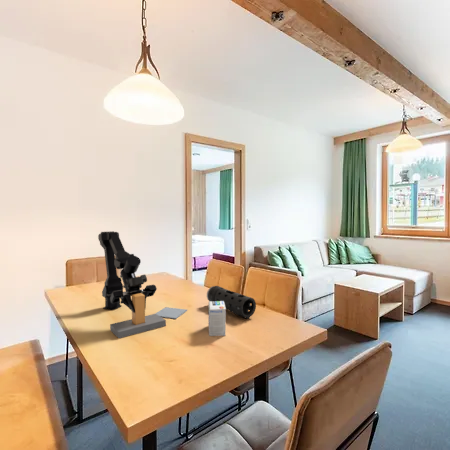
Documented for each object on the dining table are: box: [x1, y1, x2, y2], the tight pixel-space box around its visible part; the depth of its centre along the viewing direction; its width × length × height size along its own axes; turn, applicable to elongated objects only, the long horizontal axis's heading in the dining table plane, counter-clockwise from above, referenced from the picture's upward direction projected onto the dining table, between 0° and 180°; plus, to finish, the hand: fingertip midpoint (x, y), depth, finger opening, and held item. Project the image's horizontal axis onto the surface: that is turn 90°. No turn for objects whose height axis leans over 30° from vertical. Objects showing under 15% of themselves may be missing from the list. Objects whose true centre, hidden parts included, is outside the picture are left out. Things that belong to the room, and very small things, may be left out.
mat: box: [154, 306, 188, 320], centre depth 138 cm, size 12×12×1 cm
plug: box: [131, 293, 146, 325], centre depth 120 cm, size 4×4×14 cm
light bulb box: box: [208, 300, 227, 337], centre depth 118 cm, size 11×7×11 cm, turn 5°
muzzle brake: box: [206, 285, 257, 320], centre depth 141 cm, size 10×28×10 cm, turn 39°
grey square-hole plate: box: [109, 313, 167, 339], centre depth 120 cm, size 10×20×2 cm, turn 129°
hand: (139, 311), depth 119 cm, fingers closed on plug, 4 cm apart
